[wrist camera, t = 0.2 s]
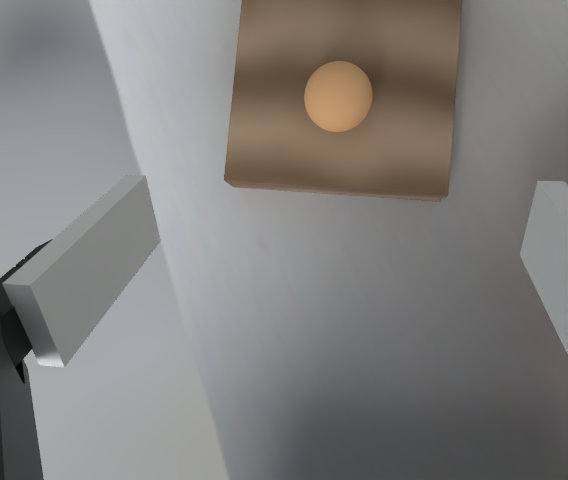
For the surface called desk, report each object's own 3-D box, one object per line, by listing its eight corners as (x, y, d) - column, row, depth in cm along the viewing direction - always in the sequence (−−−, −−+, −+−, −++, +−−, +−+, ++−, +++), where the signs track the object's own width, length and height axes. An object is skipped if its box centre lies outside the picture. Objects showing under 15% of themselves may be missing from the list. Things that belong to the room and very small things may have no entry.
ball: (368, 141, 29) (371, 121, 25) (304, 138, 29) (297, 117, 25) (373, 79, 29) (377, 49, 25) (310, 77, 30) (304, 47, 26)
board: (439, 201, 30) (447, 195, 28) (233, 186, 32) (223, 179, 30) (461, -90, 32) (471, -121, 29) (260, -86, 34) (253, -114, 31)
